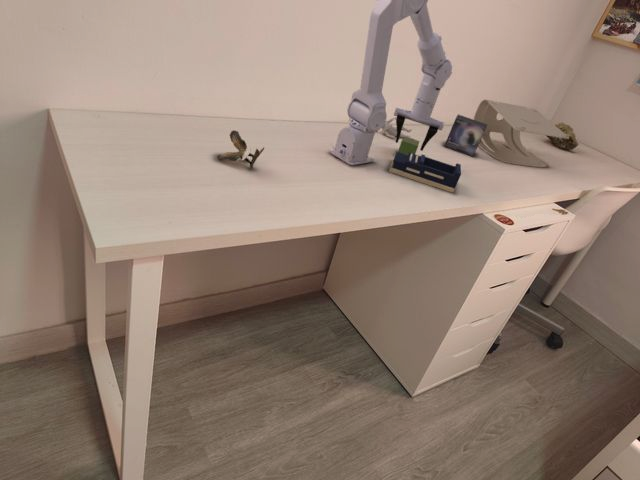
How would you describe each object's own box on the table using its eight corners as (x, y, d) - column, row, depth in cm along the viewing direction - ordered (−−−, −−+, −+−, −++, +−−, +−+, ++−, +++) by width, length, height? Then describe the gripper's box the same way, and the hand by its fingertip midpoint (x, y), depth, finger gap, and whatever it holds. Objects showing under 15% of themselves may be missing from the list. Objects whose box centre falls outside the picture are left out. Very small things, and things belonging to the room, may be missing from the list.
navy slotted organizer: (452, 182, 127) (460, 164, 124) (452, 192, 120) (461, 174, 117) (392, 161, 129) (398, 144, 126) (388, 171, 121) (395, 152, 119)
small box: (443, 146, 154) (455, 117, 149) (445, 142, 160) (457, 113, 154) (473, 157, 152) (486, 128, 147) (474, 152, 158) (487, 124, 152)
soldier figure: (409, 145, 150) (383, 129, 144) (399, 149, 154) (373, 134, 148) (412, 124, 152) (386, 108, 146) (402, 129, 156) (376, 114, 150)
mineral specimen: (577, 150, 201) (589, 129, 196) (571, 154, 191) (584, 132, 186) (546, 138, 207) (557, 117, 202) (538, 141, 198) (550, 119, 193)
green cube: (412, 161, 133) (418, 145, 131) (396, 156, 134) (401, 140, 131) (413, 156, 137) (419, 141, 135) (397, 151, 138) (403, 136, 135)
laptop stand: (513, 143, 182) (531, 106, 174) (554, 169, 164) (576, 129, 156) (462, 136, 173) (479, 96, 165) (500, 163, 154) (521, 119, 146)
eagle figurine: (263, 157, 106) (231, 138, 106) (265, 140, 99) (231, 120, 100) (246, 181, 103) (212, 161, 103) (247, 164, 96) (211, 143, 96)
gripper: (450, 105, 129) (433, 149, 136) (402, 90, 131) (387, 134, 138) (450, 110, 123) (432, 156, 130) (399, 95, 125) (384, 140, 132)
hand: (409, 145), depth 134 cm, fingers open, 7 cm apart
